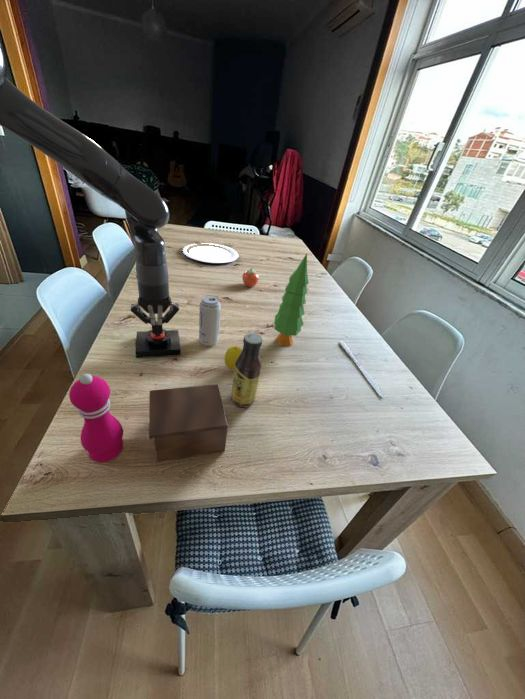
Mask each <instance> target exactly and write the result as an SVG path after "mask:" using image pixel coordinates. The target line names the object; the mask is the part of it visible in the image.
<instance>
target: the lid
mask: <svg viewBox="0 0 525 699" xmlns="http://www.w3.org/2000/svg"><path fill="white" fill-rule="evenodd" d="M148 403H149V406H148V407H149V409H148V412H149V414H148V416H149V418H148V438H149V440H150V439H154V438H159V437H166V436H173V435H180V434H187V433H194V432H201V431H208V430H216V429H223V428H227V429H228V427H229V425H228V421H227V417H226V411H225V408H224V403H223V400H222V395H221V392H220V388H219V383H216V384H215V383H214V384H205V385H194V386H185V387H184V386H183V387H174V388H173V387H172V388H164V389H154V390H153V389H151V390H149V402H148Z"/></svg>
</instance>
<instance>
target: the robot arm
mask: <svg viewBox="0 0 525 699" xmlns="http://www.w3.org/2000/svg"><path fill="white" fill-rule="evenodd" d="M7 70H8V69H7V59H6V55H5V52H4V49H3V46H2V44H1V43H0V127H1V128H4V129H5V130H6V131H8V132H10V133H11V134H13V135H15V136H17V137H18V138H19V139H20V140H21V139H22V140H23V141H24V142H26V143H28V144H29V145H30V146H32V147H34V148H35V149H37V151H39V152H41V153H42V154H44V155H45V156H47V157H48V158H49V159H51V160H52V161H54V162H55V163H57V165H60V167H62V168H63V169H65V171H68V172H69V173H70V174H72V175H73V176H74V177H76V178H77V179H78V180H80V181H81V182H83V184H86V185H87V186H88V187H89V188H91V189H92V190H94V191H95V192H97V193H98V194H99V195H100V196H102V197H103V198H105V199H107V200H108V201H110V202H112V203H114V204H116V205H118V206H119V207H120V208H121V209H123V210H124V213H125V218H126V221H127V225H128V229H129V232H130V234H131V237H132V240H133V245H134V256H135V274H136V275H135V278H136V282H137V289H138V290H137V291H138V298H137V301H136V302H134V303H131V305H130V312H131V313H132V314H133V315H134V316H136V318H138V319H139V320H140V321H141V322H143V323H144V324H145V325H149V324H150V325H151V330H152V333H153V334H155V336H160V334H162V333H163V329H164V328H163V325H164V324H168V323H169V322H170V321H171V320H172V319H173V318H174V317H175V315H176V314H177V313H178V312H179V311H180V306H179V303H177V302H176V303H175V302H173V301H172V298H171V297H170V284H169V279H170V278H169V269H168V264H167V250H166V242H165V240H164V238H163V237H162V236H161V234H160V233H159V231H158V229H162V228H163V227H165V226H166V225H167V224H168V222H169V221H170V209H169V206H168V204H167V202H166V200H164V198H163V197H161V195H159V194H158V193H157V192H156V191H155V190H154V189H152V188H151V187H149V185H147V184H145V183H144V182H142V181H141V180H140V179H138V178H137V177H135V176H134V175H133V174H132V173H130V172H129V171H128V170H127V169H126V168H125V167H124V166H123V165H122V164H121V163H120V162H119V161H117V159H116V158H114V157H113V156H112V155H111V154H110V153H109V152H108V151H106V150H105V149H104V148H103V147H102V146H100V145H99V144H98V143H96V142H95V140H93V139H91V138H89V137H88V136H87V135H85V134H84V133H82V132H81V131H79V130H78V129H76V128H75V127H73V126H71V125H70V124H68V123H67V122H65V121H63V120H62V119H60V118H59V117H57V116H55V115H54V114H52V113H51V112H49V111H47V110H46V109H45V108H44V107H42V106H41V105H40V104H38V103H36V101H34V100H32V99H31V98H30V97H29V96H28V95H26V94H25V93H24V92H22V91H21V89H19V88H18V87H17V86H15V84H14V83H13V82H12V81H10V80H9V79H8V77H7V73H8V72H7ZM142 309H143V310H142ZM166 311H167V312H166ZM165 312H166V313H165ZM164 313H165V314H164ZM163 314H164V315H163ZM156 315H157V319H156Z"/></svg>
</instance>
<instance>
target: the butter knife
mask: <svg viewBox="0 0 525 699" xmlns="http://www.w3.org/2000/svg"><path fill="white" fill-rule="evenodd" d="M338 342H339V344H340V346H341V347H342V349H343V350H344V351H345V352H346V354H347V355H348V356H349V357H350V358H351V360H352V361H353V362H354V363H355V365H356V366H357V367H358V368H359V370H360V371H361V373H362V374H363V376H364V377H365V379H366V380H367V381H368V382H369V384H370V385H371V387H372V388H373V389H374V391H375V392H376V393H377V395H378V396H379V397H380V398H381V397H383V396H384V395H383V392H382V391H381V389H380V386H379V384H378V383H377V381H376V380H375V379H374V377H372V375H371V374H370V373H369V372H368V371H367V370H366V369H365V368H364V367H363V366H362V365H361V363H360V362H359V361H358V360H357V358H356V357H355V356H354V354H353V353H352V351H351V349H350V347H349V346H348V344H346V343H345V341H343V340H339V341H338Z"/></svg>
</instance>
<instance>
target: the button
mask: <svg viewBox="0 0 525 699" xmlns="http://www.w3.org/2000/svg"><path fill="white" fill-rule="evenodd" d="M150 337H151V339H154V340H161V339H163V338H165V333H164V332H163V333H162V334H160V336H155V334H153V333H152V332H151V334H150Z"/></svg>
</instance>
